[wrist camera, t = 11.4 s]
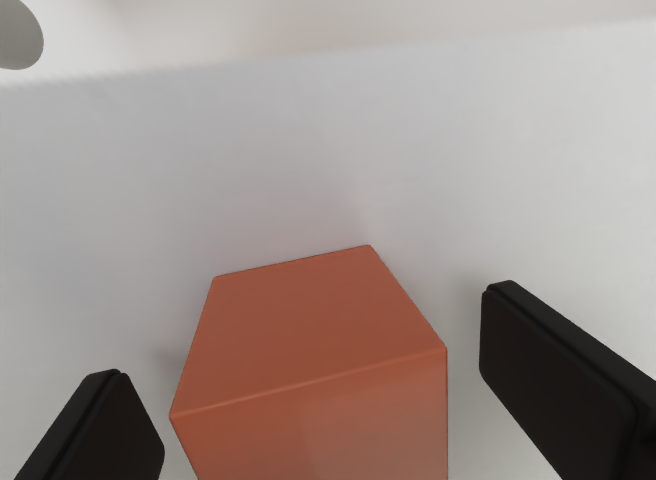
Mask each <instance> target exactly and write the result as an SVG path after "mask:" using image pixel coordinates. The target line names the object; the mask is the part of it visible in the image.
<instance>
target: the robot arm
mask: <svg viewBox="0 0 656 480" xmlns="http://www.w3.org/2000/svg"><path fill="white" fill-rule="evenodd" d="M479 370H480V373H481V376H482V378H483V379H484V381H485V382H486V383H487V385H488V386H489V387H490V389H491V390H492V391H493V392H494V394H495V395H496V396H497V397H498V399H499V400H500V401H501V402H502V404H503V405H504V406H505V408H506V409H507V410H508V411H509V413H510V414H511V415H512V416H513V418H514V419H515V420H516V421H517V423H518V424H519V425H520V427H521V428H522V429H523V430H524V432H525V433H526V434H527V435H528V437H529V438H530V439H531V441H532V442H533V443H534V444H535V446H536V447H537V448H538V449H539V451H540V452H541V453H542V454H543V456H544V457H545V458H546V460H547V461H548V462H549V463H550V465H551V466H552V467H553V468H554V470H555V471H556V472H557V473H558V475H559V476H560V477H561V479H562V480H656V381H655V380H653V379H652V378H651V377H649V376H648V375H646V374H645V373H643V372H642V371H641V370H639V369H638V368H636V367H635V366H634V365H632V364H631V363H629V362H628V361H626V360H625V359H624V358H622V357H621V356H619V355H618V354H617V353H615V352H614V351H612V350H611V349H609V348H608V347H607V346H605V345H604V344H602V343H601V342H599V341H598V340H597V339H595V338H594V337H592V336H591V335H590V334H588V333H587V332H585V331H584V330H582V329H581V328H580V327H578V326H577V325H575V324H574V323H572V322H571V321H570V320H568V319H567V318H565V317H564V316H563V315H561V314H560V313H558V312H557V311H555V310H554V309H553V308H551V307H550V306H548V305H547V304H545V303H544V302H543V301H541V300H540V299H538V298H537V297H536V296H534V295H533V294H531V293H530V292H528V291H527V290H526V289H524V288H523V287H521V286H520V285H518V284H517V283H516V282H514V281H512V280H507V281H503V282H499V283H494V284H490V285H488V287H487V289H486V291H484V292H483V293H482V303H481V327H480V352H479ZM164 456H165V450H164V445H163V443H162V441H161V439H160V437H159V435H158V433H157V431H156V429H155V427H154V425H153V423H152V421H151V419H150V418H149V416H148V414H147V412H146V410H145V408H144V406H143V404H142V402H141V400H140V398H139V396H138V394H137V392H136V390H135V388H134V386H133V384H132V382H131V380H130V378H129V376H128V375H127V374H126V373H121V372H120V371H119V370H117V369H110V370H106V371H102V372H97V373H93V374H89V375H87V376H86V377H85V378H84V379H83V381H82V382H81V384H80V385H79V387H78V388H77V390H76V391H75V392H74V394H73V395H72V397H71V398H70V400H69V401H68V402H67V404H66V405H65V407H64V408H63V410H62V411H61V412H60V414H59V415H58V417H57V418H56V420H55V421H54V423H53V424H52V425H51V427H50V428H49V430H48V431H47V433H46V434H45V435H44V437H43V438H42V440H41V441H40V443H39V444H38V445H37V447H36V448H35V450H34V451H33V453H32V454H31V455H30V457H29V458H28V460H27V461H26V463H25V464H24V466H23V467H22V468H21V470H20V471H19V473H18V474H17V476H16V477H15V478H14V480H158V479H159V475H160V472H161V469H162V465H163V462H164Z"/></svg>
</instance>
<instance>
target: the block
mask: <svg viewBox="0 0 656 480" xmlns="http://www.w3.org/2000/svg"><path fill="white" fill-rule="evenodd" d="M169 420H170V422H171V424H172V426H173V428H174V430H175V432H176V434H177V436H178V438H179V441H180V443H181V445H182V447H183V449H184V451H185V453H186V455H187V457H188V459H189V461H190V463H191V465H192V468H193V470H194V472H195V474H196V476H197V478H198V480H448V389H447V348H446V346H445V344H444V343H443V342H442V340H441V339H440V338H439V336H438V335H437V334H436V332H435V331H434V330H433V328H432V327H431V326H430V324H429V323H428V322H427V320H426V319H425V318H424V316H423V315H422V314H421V312H420V311H419V310H418V308H417V307H416V306H415V304H414V303H413V302H412V300H411V299H410V298H409V296H408V295H407V294H406V292H405V291H404V290H403V288H402V287H401V286H400V284H399V283H398V282H397V280H396V279H395V278H394V276H393V275H392V274H391V272H390V271H389V270H388V268H387V267H386V266H385V264H384V263H383V262H382V260H381V259H380V258H379V256H378V255H377V254H376V252H375V251H374V250H373V248H372V247H371V246H370V245H366V246H361V247H356V248H352V249H347V250H342V251H337V252H332V253H328V254H323V255H318V256H313V257H308V258H303V259H299V260H294V261H289V262H284V263H279V264H275V265H270V266H265V267H260V268H255V269H251V270H246V271H241V272H236V273H231V274H226V275H222V276H217V277H214V278H213V281H212V284H211V287H210V290H209V293H208V296H207V299H206V302H205V305H204V308H203V311H202V314H201V317H200V321H199V324H198V327H197V330H196V333H195V336H194V339H193V342H192V345H191V348H190V351H189V354H188V357H187V360H186V363H185V366H184V369H183V372H182V376H181V379H180V382H179V385H178V388H177V391H176V394H175V397H174V400H173V403H172V406H171V409H170V412H169Z"/></svg>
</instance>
